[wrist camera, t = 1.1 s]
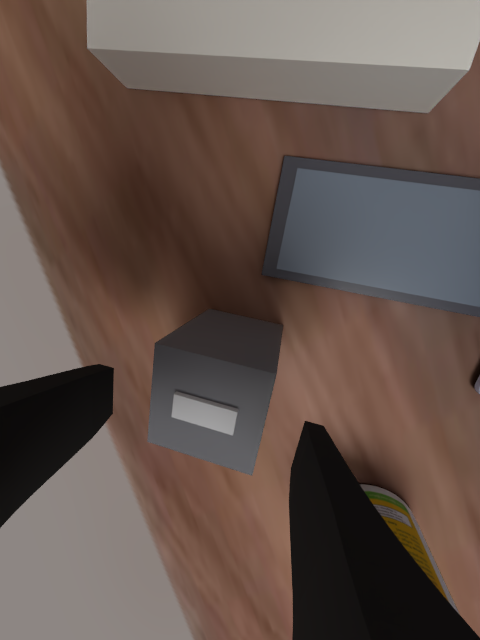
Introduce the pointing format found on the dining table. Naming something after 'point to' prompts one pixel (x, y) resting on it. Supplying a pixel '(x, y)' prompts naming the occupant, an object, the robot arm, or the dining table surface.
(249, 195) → the dining table surface
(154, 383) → the block
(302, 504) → the robot arm
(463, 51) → the outlet plate
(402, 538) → the supplement bottle
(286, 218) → the phone slab
